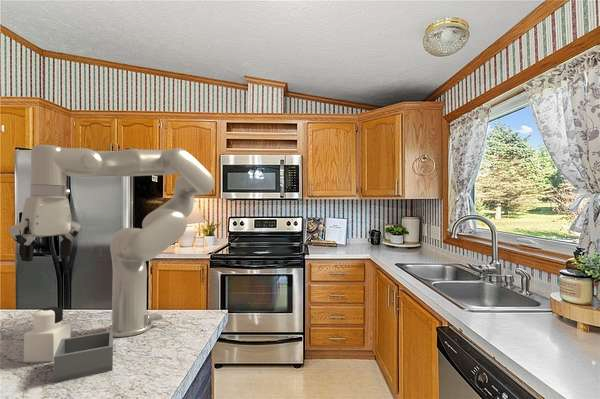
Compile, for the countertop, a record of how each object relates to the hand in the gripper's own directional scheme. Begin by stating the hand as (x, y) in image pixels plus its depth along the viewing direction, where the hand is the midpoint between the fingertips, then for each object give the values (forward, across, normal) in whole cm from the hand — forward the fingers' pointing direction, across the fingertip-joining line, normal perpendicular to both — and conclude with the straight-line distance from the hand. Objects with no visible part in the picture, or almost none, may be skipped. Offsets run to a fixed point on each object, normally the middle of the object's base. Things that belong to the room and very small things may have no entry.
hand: (47, 258), depth 86 cm
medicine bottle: (+25, 0, +2) cm, 25 cm away
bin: (+25, +1, +16) cm, 29 cm away
